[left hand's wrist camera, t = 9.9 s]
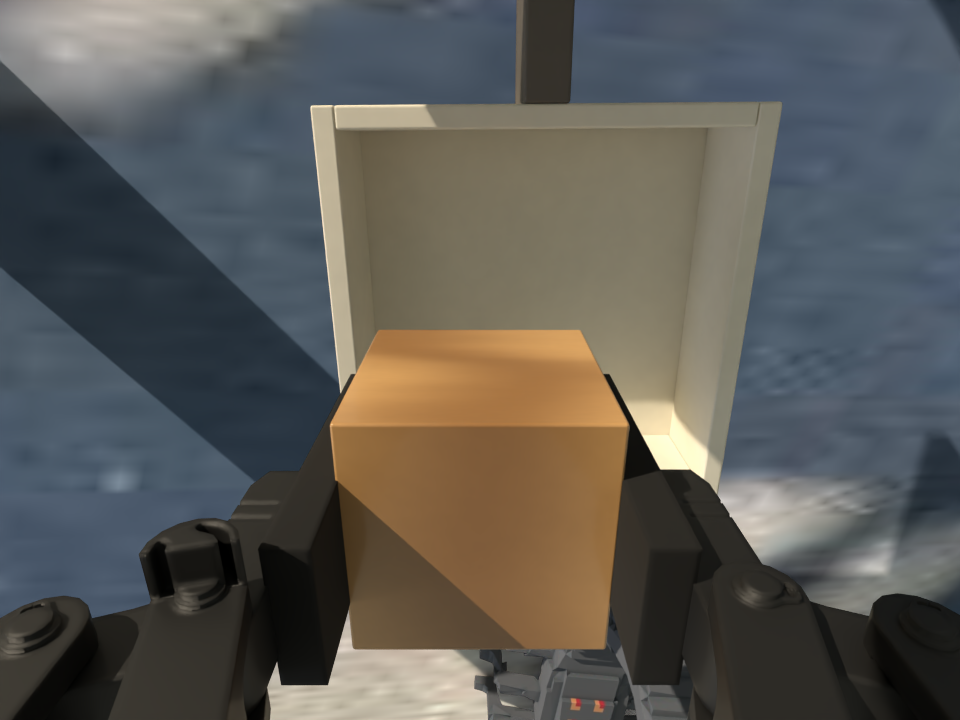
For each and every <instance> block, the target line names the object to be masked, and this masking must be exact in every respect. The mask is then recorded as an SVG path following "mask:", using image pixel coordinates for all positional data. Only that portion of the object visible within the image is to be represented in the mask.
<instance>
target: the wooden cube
mask: <svg viewBox="0 0 960 720" xmlns="http://www.w3.org/2000/svg"><path fill="white" fill-rule="evenodd" d="M629 427H630V425H629V423H628V421H627V419H626V417H625V415H624V413H623V411H622V409H621V407H620V405H619V403H618V402H617V400H616V398H615V396H614V394H613V392H612V390H611V388H610V386H609V384H608V382H607V380H606V378H605V376H604V374H603V372H602V370H601V368H600V367H599V365H598V363H597V361H596V359H595V357H594V355H593V353H592V351H591V349H590V347H589V345H588V343H587V341H586V339H585V337H584V335H583V333H582V332H581V330H378V331H377V333H376V335H375V337H374V339H373V341H372V343H371V345H370V347H369V349H368V351H367V353H366V355H365V357H364V359H363V361H362V363H361V365H360V367H359V369H358V371H357V373H356V374H355V376H354V378H353V380H352V382H351V384H350V386H349V388H348V390H347V392H346V394H345V396H344V398H343V400H342V402H341V404H340V406H339V408H338V410H337V412H336V414H335V416H334V417H333V419H332V421H331V423H330V434H331V443H332V453H333V463H334V472H335V480H336V481H338V490H339V499H340V509H341V518H342V528H343V538H344V547H345V557H346V567H347V576H348V586H349V595H350V606H349V616H350V626H351V636H352V645H353V648H354V649H605V648H606V643H607V633H608V624H609V615H610V597H611V587H612V577H613V568H614V558H615V549H616V539H617V530H618V520H619V510H620V501H621V491H622V482H623V480H624V474H625V465H626V455H627V446H628V437H629Z"/></svg>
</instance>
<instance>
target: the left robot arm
mask: <svg viewBox="0 0 960 720" xmlns="http://www.w3.org/2000/svg"><path fill="white" fill-rule="evenodd" d="M354 376H355V374H351V375H350V377H349V378H348V380H347V382H346V384H345V386H344V388H343V390H342V392H341V393H340V395H339V397H338V399H337V401H336V403H335V405H334V407H333V409H332V410H331V412H330V414H329V416H328V418H327V420H326V422H325V424H324V425H323V427H322V429H321V431H320V433H319V435H318V437H317V439H316V441H315V442H314V444H313V446H312V448H311V450H310V452H309V454H308V456H307V457H306V459H305V461H304V463H303V465H302V467H301V469H300V471H270V472H268V473H267V474H266V475H264V476H263V477H262V478H260V479H259V480H258V481H256V482H255V483H254V484H252V485H251V486H250V488H249V489H248V491H247V492H246V494H245V495H244V497H243V498H242V500H241V502H240V505H238V506H237V508H236V509H235V511H234V512H233V514H232V516H231V519H229V520H228V521H225V520H221V519H217V518H206V519H196V520H191V521H187V522H183V523H180V524H177V525H175V526H173V527H171V528H169V529H166V530H164V531H162V532H161V533H159V534H158V535H157V536H155V537H154V538H153V539H151V540H150V541H149V542H147V544H146V545H145V546H144V548H143V549H142V551H141V552H140V553H139V557H140V561H141V565H142V568H143V572H144V576H145V580H146V583H147V587H148V591H149V595H150V598H151V602H150V604H148V605H145V606H141V607H138V608H135V609H131V610H126V611H122V612H118V613H113V614H109V615H105V616H100V617H96V618H92V617H91V614H90V610H89V607H88V605H87V604H86V603H84V602H83V601H82V600H81V599H80V598H75V597H69V596H58V597H51V598H44V599H41V600H38V601H35V602H33V603H30V604H27V605H24V606H22V607H20V608H18V609H16V610H14V611H12V612H11V613H9V614H7V615H5V616H3V617H2V618H0V720H270V711H271V708H270V701H269V695H268V690H267V686H268V683H269V681H270V678H271V676H272V673H273V670H274V668H275V665H276V663H278V669H279V675H280V681H281V685H328V683H329V679H330V676H331V672H332V668H333V665H334V661H335V657H336V654H337V650H338V646H339V643H340V639H341V635H342V632H343V628H344V624H345V621H346V617H347V614H348V610H349V606H350V595H349V586H348V576H347V567H346V557H345V547H344V538H343V528H342V518H341V509H340V499H339V490H338V481H336V480H335V472H334V463H333V453H332V443H331V434H330V423H331V421H332V419H333V417H334V416H335V414H336V412H337V410H338V408H339V406H340V404H341V402H342V400H343V398H344V396H345V394H346V392H347V390H348V388H349V386H350V384H351V382H352V380H353V378H354ZM604 376H605V378H606V380H607V382H608V384H609V386H610V388H611V390H612V392H613V394H614V396H615V398H616V400H617V402H618V403H619V405H620V407H621V409H622V411H623V413H624V415H625V417H626V419H627V421H628V423H629V425H630V427H629V437H628V446H627V455H626V465H625V474H624V480H623V482H622V491H621V501H620V510H619V520H618V530H617V539H616V549H615V558H614V568H613V577H612V587H611V597H610V605H611V608H612V612H613V616H614V619H615V623H616V627H617V630H618V634H619V638H620V641H621V645H622V649H623V652H624V656H625V659H626V663H627V667H628V670H629V674H630V678H631V681H632V685H679V683H680V677H681V671H682V666H683V660H684V661H685V664H686V667H687V669H688V672H689V674H690V677H691V680H692V682H693V690H692V695H691V701H690V706H689V711H688V717H687V720H960V615H959V614H957V613H955V612H953V611H951V610H950V609H948V608H946V607H944V606H942V605H940V604H938V603H935V602H932V601H930V600H927V599H924V598H921V597H918V596H912V595H905V594H891V595H884V596H881V597H880V598H879V599H878V600H877V601H875V602H874V603H873V606H872V609H871V612H870V615H869V616H866V615H862V614H857V613H853V612H849V611H844V610H840V609H836V608H831V607H827V606H824V605H820V604H817V603H814V602H811V601H809V599H808V597H807V596H806V594H805V592H804V591H803V589H802V588H801V586H799V585H798V584H797V583H796V582H795V581H794V580H792V579H791V578H790V577H789V576H788V575H786V574H784V573H782V572H780V571H778V570H776V569H774V568H772V567H770V566H766V565H763V564H762V563H761V562H760V560H759V559H758V557H757V555H756V554H755V552H754V551H753V549H752V548H751V546H750V545H749V543H748V542H747V540H746V539H745V537H744V535H743V534H742V532H741V531H740V529H739V528H738V526H737V525H736V523H735V522H734V520H733V519H732V517H730V516H729V512H728V511H727V509H726V508H725V506H724V505H723V503H721V502H720V501H721V500H720V499H719V497H718V496H717V494H716V492H715V491H714V489H713V488H712V486H711V485H710V483H708V482H707V481H706V480H704V479H703V478H701V477H700V476H699V475H697V474H696V473H695V472H693V471H692V470H691V469H660V468H659V466H658V464H657V462H656V460H655V459H654V457H653V455H652V453H651V451H650V449H649V447H648V445H647V444H646V442H645V440H644V438H643V436H642V434H641V432H640V430H639V428H638V427H637V425H636V423H635V421H634V419H633V417H632V415H631V413H630V412H629V410H628V408H627V406H626V404H625V402H624V400H623V398H622V396H621V395H620V393H619V391H618V389H617V387H616V385H615V383H614V381H613V380H612V378H611V376H610V374H604Z"/></svg>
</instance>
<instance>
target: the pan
mask: <svg viewBox="0 0 960 720" xmlns="http://www.w3.org/2000/svg"><path fill="white" fill-rule="evenodd" d="M574 3H575V0H517V19H516V96H515V104H440V105H336V106H332V105H319V106H311V117H312V127H313V136H314V146H315V156H316V165H317V175H318V184H319V194H320V203H321V213H322V222H323V232H324V241H325V251H326V260H327V270H328V279H329V289H330V298H331V308H332V317H333V327H334V336H335V346H336V355H337V365H338V374H339V384H340V393H341V392H342V390H343V388H344V386H345V384H346V382H347V380H348V378H349V377H350V375H351V374H356V373H357V371H358V369H359V367H360V365H361V363H362V361H363V359H364V357H365V355H366V353H367V351H368V349H369V347H370V345H371V343H372V341H373V339H374V337H375V335H376V333H377V331H378V330H581V332H582V333H583V335H584V337H585V339H586V341H587V343H588V345H589V347H590V349H591V351H592V353H593V355H594V357H595V359H596V361H597V363H598V365H599V367H600V368H601V370H602V372H603V374H610V376H611V378H612V380H613V381H614V383H615V385H616V387H617V389H618V391H619V393H620V395H621V396H622V398H623V400H624V402H625V404H626V406H627V408H628V410H629V412H630V413H631V415H632V417H633V419H634V421H635V423H636V425H637V427H638V428H639V430H640V432H641V434H642V436H643V438H644V440H645V442H646V444H647V445H648V447H649V449H650V451H651V453H652V455H653V457H654V459H655V460H656V462H657V464H658V466H659V468H660V469H691V470H692V471H693V472H695V473H696V474H697V475H699V476H700V477H701V478H703V479H704V480H706V481H707V482H708V483H710V485H711V486H712V488H713V489H714V491H715V492H716V494H718V488H719V482H720V476H721V470H722V464H723V458H724V452H725V446H726V440H727V434H728V428H729V422H730V416H731V410H732V404H733V398H734V392H735V386H736V380H737V374H738V368H739V362H740V356H741V350H742V344H743V338H744V332H745V326H746V320H747V314H748V308H749V302H750V296H751V290H752V284H753V278H754V272H755V266H756V260H757V254H758V247H759V241H760V235H761V229H762V223H763V217H764V211H765V205H766V199H767V193H768V187H769V181H770V175H771V169H772V163H773V157H774V151H775V145H776V139H777V133H778V127H779V121H780V115H781V109H782V102H676V103H569V101H570V94H571V71H572V48H573V26H574Z"/></svg>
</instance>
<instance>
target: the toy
mask: <svg viewBox="0 0 960 720" xmlns="http://www.w3.org/2000/svg"><path fill="white" fill-rule="evenodd" d="M505 650H507V651H514V652H522V653H524V656H541V657H543V661H542V665H541V674H540V677H539V679H538V680H537V678H536V677H535V676H530V675H524V674H518V673H512V672H508V671H507V662H503V663H502V654H501V649H480V659H483V660H486V661H488V662H491V663H493V665H494V677H486V676H475V681H474V689H477V690H481V691H483V692H485V693H487V707H488V720H687V717H688V711H689V706H690V701H691V695H692V690H693V682H692V680H691V677H690V674H689V672H688V669H687V667H686V664H685V661H684V660H683V666H682V671H681V677H680V683H679V685H632V681H631V678H630V674H629V670H628V667H627V663H626V659H625V656H624V652H623V649H622V645H621V641H620V638H619V634H618V630H617V627H616V623H615V619H614V616H613V612H612V608H611V605H610V615H609V624H608V633H607V643H606V648H605V649H505ZM496 684H497V686H498V688H499V691H500V693H503V694H511V695H519V696H525V697H527V698H529V699H531V700H533V705H534V712H531V710H527V709H522V708H517V707H511V706H504V705H502V704H501V701H500V699H499V696H498V693H497V686H496ZM626 709H632V710H636V715H625V711H626ZM624 715H625V716H624Z"/></svg>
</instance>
